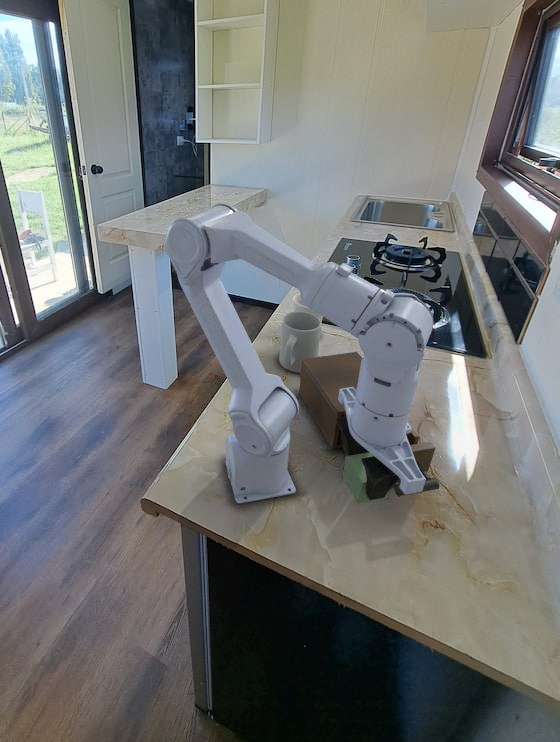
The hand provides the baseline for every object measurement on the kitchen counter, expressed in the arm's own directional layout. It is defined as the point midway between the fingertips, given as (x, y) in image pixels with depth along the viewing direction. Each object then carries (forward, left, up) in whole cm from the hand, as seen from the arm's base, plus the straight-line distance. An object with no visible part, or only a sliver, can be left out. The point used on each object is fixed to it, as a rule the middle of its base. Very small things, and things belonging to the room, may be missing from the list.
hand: (365, 480), depth 49 cm
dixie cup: (+14, +49, -10) cm, 52 cm away
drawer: (+9, +9, -9) cm, 16 cm away
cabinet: (+9, +21, -10) cm, 25 cm away
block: (0, 0, -1) cm, 1 cm away
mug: (+6, +37, -10) cm, 39 cm away
